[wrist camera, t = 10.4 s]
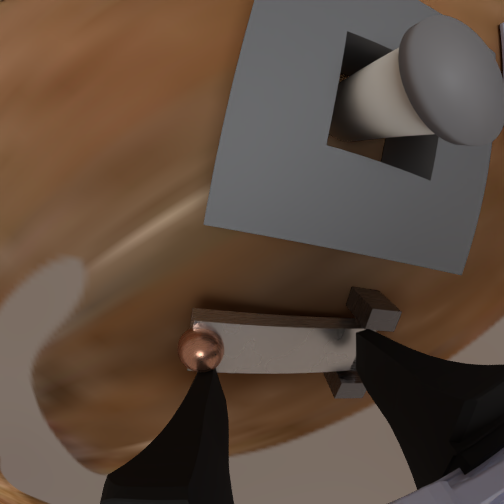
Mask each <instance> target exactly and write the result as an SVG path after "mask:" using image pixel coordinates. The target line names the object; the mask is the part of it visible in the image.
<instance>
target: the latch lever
mask: <svg viewBox="0 0 504 504" xmlns="http://www.w3.org/2000/svg"><path fill="white" fill-rule="evenodd" d="M363 330H366V329H364V328H363V326H362V325H361V324H360V323H359V321H358V320H357V319H356V318H328V317H306V316H287V315H271V314H257V313H244V312H232V311H220V310H210V309H200V308H193V309H192V316H191V323H190V329H188V330H187V331H186V332H184V333H183V335H182V336H181V338H180V339H179V342H178V349H177V350H178V355H179V358H180V360H181V362H182V363H183V364H184V365H185V366H186V367H187V371H195V372H208V371H211V370H213V369H216V372H220V373H259V374H277V373H315V372H334V371H348V370H350V371H357V370H356V332H359V331H363ZM373 331H375V332H377V330H373Z"/></svg>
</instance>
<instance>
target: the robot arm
mask: <svg viewBox="0 0 504 504" xmlns="http://www.w3.org/2000/svg"><path fill="white" fill-rule="evenodd" d="M500 32H501V42H502V57H503V81H504V23H501V24H500ZM356 370H357V372H358V374H359V377H360V379H361V381H362V383H363V385H364V387H365V388H366V390H367V391H368V393H369V394H370V396H371V397H372V399H373V400H374V402H375V403H376V405H377V406H378V408H379V409H380V411H381V412H382V414H383V415H384V416H385V418H386V419H387V421H388V423H389V424H390V426H391V428H392V430H393V432H394V434H395V436H396V438H397V440H398V442H399V444H400V446H401V449H402V451H403V453H404V456H405V458H406V460H407V463H408V465H409V468H410V470H411V473H412V475H413V478H414V481H415V484H416V487H417V490H416V491H414V492H412V493H410V494H408V495H406V496H404V497H401V498H399V499H397V500H395V501H393V502H390V503H388V504H504V365H474V364H465V363H459V362H453V361H448V360H444V359H440V358H436V357H433V356H429V355H426V354H424V353H421V352H418V351H416V350H413V349H411V348H408V347H406V346H404V345H402V344H399V343H397V342H395V341H393V340H391V339H389V338H387V337H385V336H383V335H381V334H379V333H377V332H375V331H373V330H370V329H366V330H363V331H359V332H356ZM100 504H234V501H233V495H232V489H231V481H230V474H229V427H228V413H227V405H226V399H225V396H224V393H223V390H222V387H221V384H220V381H219V378H218V375H217V372H216V369H213V370H211V371H208V372H198V373H197V375H196V377H195V379H194V381H193V383H192V385H191V387H190V389H189V391H188V393H187V395H186V396H185V398H184V400H183V402H182V403H181V405H180V407H179V408H178V410H177V411H176V413H175V414H174V416H173V417H172V419H171V420H170V421H169V423H168V424H167V425H166V427H165V428H164V429H163V430H162V432H161V433H160V434H159V435H158V436H157V437H156V438H155V439H154V440H153V441H152V442H151V443H150V444H149V445H148V446H147V447H146V448H145V449H144V450H143V451H142V452H140V453H139V454H138V455H137V456H135V457H134V458H133V459H132V460H130V461H129V462H127V463H126V464H125V465H123V466H121V467H120V468H118V469H117V470H115V471H114V472H112V473H110V474H108V476H107V479H106V481H105V484H104V488H103V493H102V497H101V501H100Z"/></svg>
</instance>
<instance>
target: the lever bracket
mask: <svg viewBox="0 0 504 504" xmlns="http://www.w3.org/2000/svg"><path fill="white" fill-rule="evenodd" d="M346 306H347V307H348V309H349V310H350V311H351V312H352V314H353V315H354V316H355V317H356V319H357V320H358V321H359V323H360V324H361V325H362V326H363V328H364V329H370V330H379V331H393V332H394V330H395V328H396V325H397V323H398V320H399V318H400V315H401V313H402V312H401V311H400V310H399V309H398V308H397V307H396V306H395V305H394V304H393V303H392V302H391V301H390V300H389V299H387V298H386V297H385V296H384V295H383V294H382V293H381V292H380V291H378V290H371V289H364V288H358V287H352V288H351V291H350V294H349V297H348V300H347V303H346ZM323 373H324V376H325V378H326V380H327V382H328V385H329V387H330V389H331V391H332V394H333V396H334V398H362V397H363V396H364V394H365V392H366V388H365V387H364V385H363V383H362V381H361V379H360V377H359V374H358V372H357V371H350V370H348V371H334V372H323Z"/></svg>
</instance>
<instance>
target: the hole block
mask: <svg viewBox="0 0 504 504" xmlns="http://www.w3.org/2000/svg"><path fill="white" fill-rule="evenodd" d="M433 15H442V14H440V13H439V12H437V11H435V10H434V9H432V8H430V7H429V6H427V5H425V4H424V3H422V2H420V1H418V0H254V4H253V7H252V11H251V15H250V18H249V22H248V25H247V29H246V33H245V37H244V40H243V44H242V48H241V52H240V56H239V60H238V64H237V68H236V72H235V76H234V80H233V84H232V88H231V92H230V97H229V101H228V105H227V110H226V114H225V119H224V123H223V128H222V132H221V137H220V142H219V147H218V151H217V156H216V161H215V166H214V171H213V176H212V182H211V187H210V192H209V197H208V203H207V208H206V214H205V219H204V225H209V226H214V227H220V228H225V229H231V230H236V231H242V232H247V233H253V234H258V235H264V236H269V237H275V238H280V239H285V240H291V241H296V242H301V243H306V244H311V245H317V246H322V247H327V248H332V249H337V250H342V251H347V252H352V253H357V254H362V255H367V256H372V257H377V258H382V259H387V260H392V261H397V262H402V263H406V264H411V265H416V266H421V267H425V268H430V269H435V270H440V271H444V272H449V273H453V274H458V275H462V272H463V269H464V266H465V263H466V260H467V257H468V254H469V250H470V247H471V244H472V240H473V237H474V233H475V229H476V225H477V222H478V218H479V213H480V209H481V205H482V200H483V195H484V190H485V185H486V180H487V174H488V168H489V162H490V155H491V147H492V142H491V143H489V144H486V145H482V146H467V145H455V144H452V143H449V142H447V141H445V140H443V139H441V138H440V137H438V136H437V135H436V134H429V135H414V136H401V137H390V138H386V140H385V145H384V150H383V155H382V160H381V162H379V161H376V160H373V159H370V158H367V157H364V156H361V155H358V154H355V153H351V152H348V151H345V150H342V149H338V148H335V147H331V146H328V145H326V144H327V139H328V134H329V130H330V125H331V120H332V115H333V109H334V104H335V99H336V94H337V88H338V83H339V77H340V73H342V74H345V75H348V76H351V75H352V74H354V73H356V72H357V71H359V70H361V69H362V68H364V67H366V66H367V65H369V64H371V63H372V62H374V61H376V60H378V59H379V58H381V57H383V56H385V55H386V54H388V53H390V52H392V51H394V50H395V49H397V48H399V46H400V42H401V40H402V37H403V36H404V34H405V32H406V31H407V30H408V29H409V28H411V27H412V26H414V25H415V24H417V23H419V22H420V21H422V20H424V19H426V18H427V17H430V16H433ZM489 50H490V51H491V53H492V55H493V56H494V58H495V53H494V52H493V51H492V50H491V49H489Z"/></svg>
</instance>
